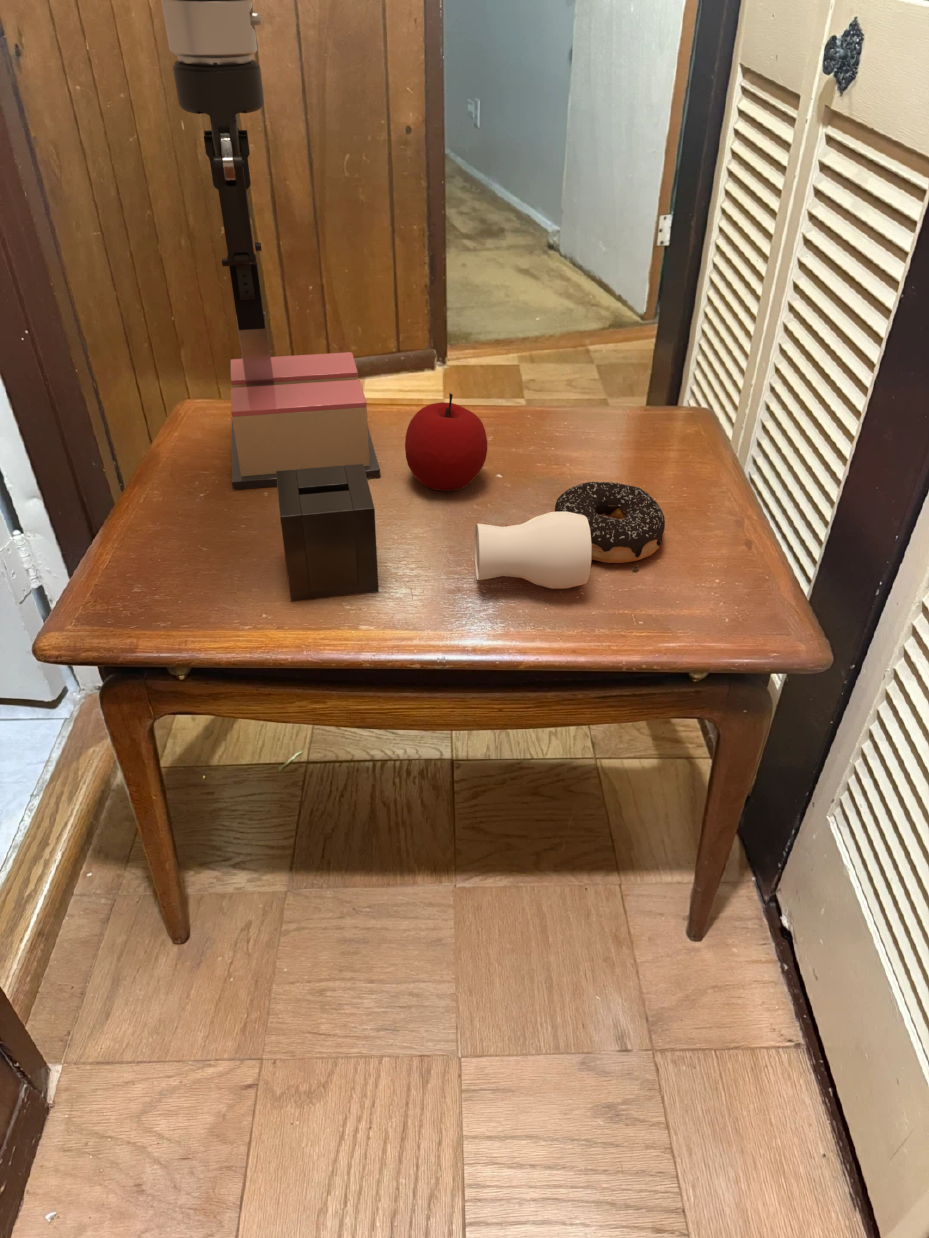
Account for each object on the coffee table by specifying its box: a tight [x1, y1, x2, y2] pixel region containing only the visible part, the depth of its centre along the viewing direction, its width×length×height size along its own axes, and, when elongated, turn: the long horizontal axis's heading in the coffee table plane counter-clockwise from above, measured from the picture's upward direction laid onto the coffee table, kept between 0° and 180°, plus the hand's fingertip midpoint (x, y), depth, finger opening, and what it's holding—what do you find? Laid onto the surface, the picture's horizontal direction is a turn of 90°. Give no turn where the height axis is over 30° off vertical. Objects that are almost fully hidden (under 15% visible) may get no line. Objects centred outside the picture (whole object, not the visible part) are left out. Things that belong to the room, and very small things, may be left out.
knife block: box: [276, 464, 380, 602], centre depth 79 cm, size 8×8×9 cm
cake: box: [230, 351, 381, 491], centre depth 98 cm, size 16×16×9 cm
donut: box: [553, 481, 666, 564], centre depth 87 cm, size 11×12×4 cm
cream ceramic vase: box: [474, 511, 592, 590], centre depth 79 cm, size 7×7×10 cm
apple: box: [404, 392, 488, 492], centre depth 93 cm, size 9×9×10 cm
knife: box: [235, 217, 274, 387], centre depth 91 cm, size 3×2×19 cm, turn 102°
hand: (251, 323), depth 91 cm, fingers closed on knife, 2 cm apart
